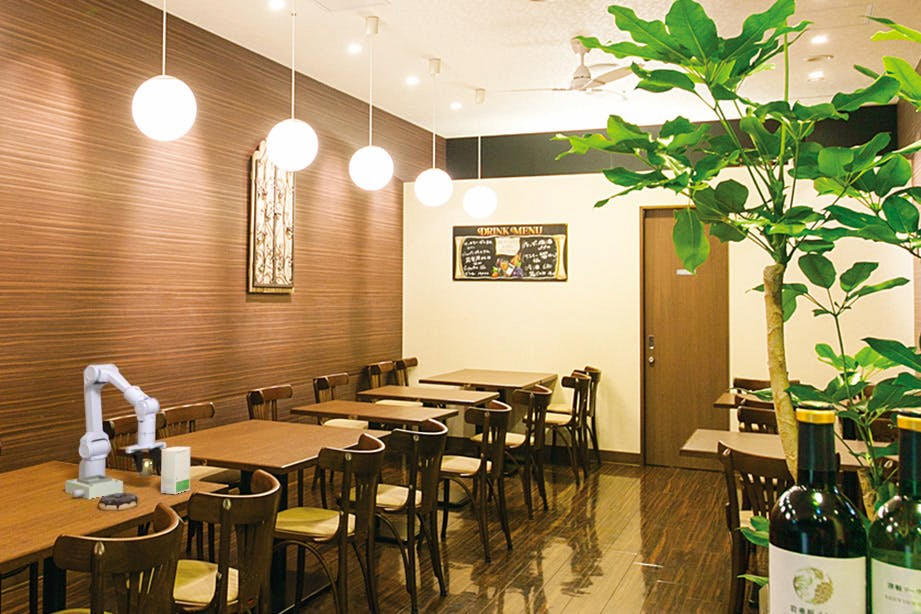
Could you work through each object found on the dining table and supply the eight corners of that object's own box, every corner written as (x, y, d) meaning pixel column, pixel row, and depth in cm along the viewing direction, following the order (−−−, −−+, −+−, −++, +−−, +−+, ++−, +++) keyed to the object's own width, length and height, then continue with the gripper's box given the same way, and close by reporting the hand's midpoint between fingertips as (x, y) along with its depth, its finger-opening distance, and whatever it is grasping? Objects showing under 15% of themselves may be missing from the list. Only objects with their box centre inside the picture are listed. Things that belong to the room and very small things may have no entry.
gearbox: (56, 493, 254) (56, 479, 254) (98, 486, 267) (99, 472, 267) (80, 501, 245) (80, 486, 245) (122, 492, 257) (123, 478, 257)
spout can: (136, 475, 263) (137, 459, 263) (148, 473, 266) (148, 458, 266) (145, 477, 260) (145, 462, 260) (156, 475, 263) (157, 460, 263)
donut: (110, 502, 244) (110, 491, 245) (145, 503, 244) (145, 491, 244) (92, 511, 233) (92, 499, 234) (128, 512, 233) (128, 500, 233)
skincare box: (174, 495, 254) (175, 450, 255) (159, 493, 257) (160, 449, 257) (190, 490, 262) (191, 446, 263) (175, 488, 265) (176, 445, 265)
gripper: (133, 436, 255) (132, 475, 255) (171, 431, 267) (170, 468, 267) (122, 434, 259) (121, 472, 259) (160, 429, 271) (159, 466, 271)
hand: (145, 470), depth 263 cm, fingers closed on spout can, 4 cm apart
